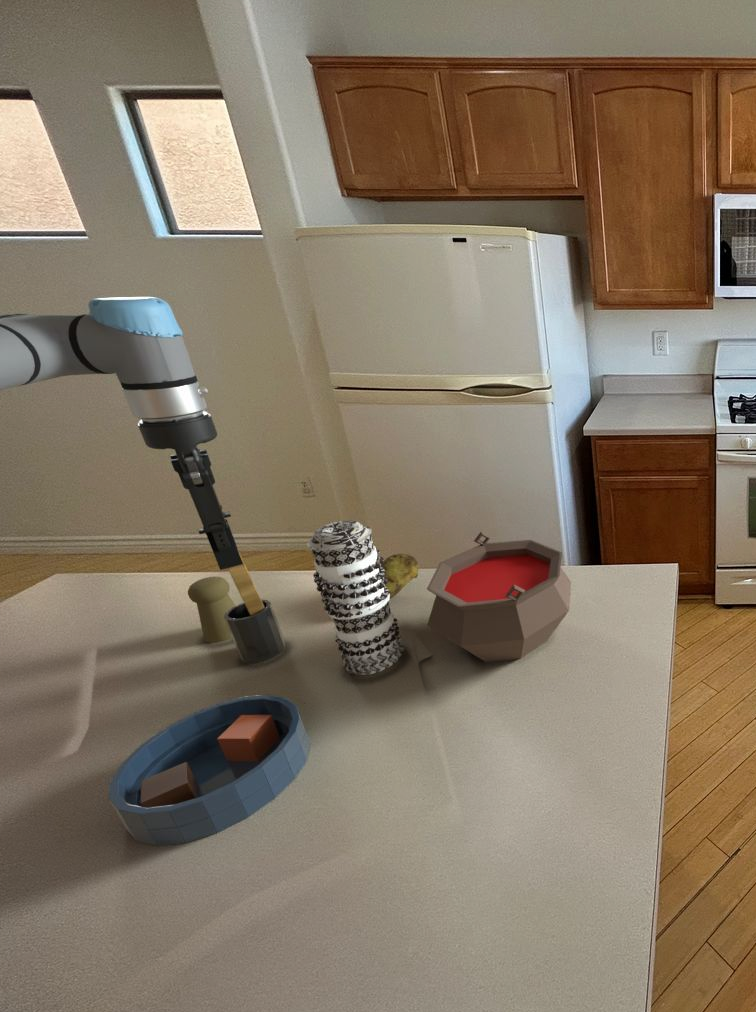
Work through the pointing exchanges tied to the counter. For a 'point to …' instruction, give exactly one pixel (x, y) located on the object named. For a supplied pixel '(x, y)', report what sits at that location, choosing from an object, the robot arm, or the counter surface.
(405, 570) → the yellow green pear
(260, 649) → the cup
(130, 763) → the bowl
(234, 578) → the stirring stick
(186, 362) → the robot arm
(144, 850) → the counter surface
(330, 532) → the decorative candle
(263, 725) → the terracotta block
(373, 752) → the counter surface
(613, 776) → the counter surface
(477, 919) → the counter surface
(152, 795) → the walnut block
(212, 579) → the cork
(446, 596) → the brown cooking pot
